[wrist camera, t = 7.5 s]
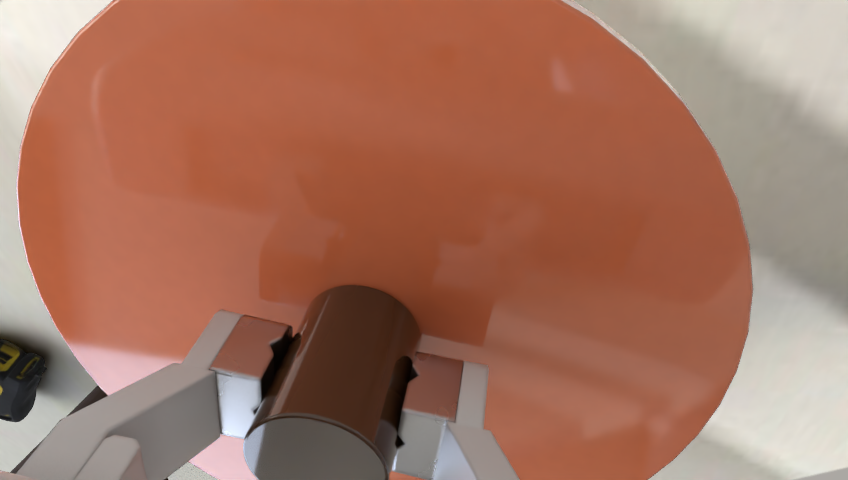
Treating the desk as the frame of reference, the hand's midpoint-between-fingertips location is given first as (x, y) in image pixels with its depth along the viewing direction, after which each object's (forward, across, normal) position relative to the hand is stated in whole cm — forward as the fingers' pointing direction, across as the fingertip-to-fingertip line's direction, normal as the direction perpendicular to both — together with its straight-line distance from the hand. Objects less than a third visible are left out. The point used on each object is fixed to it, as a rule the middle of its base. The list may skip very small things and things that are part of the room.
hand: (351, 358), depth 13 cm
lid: (+2, 0, 0) cm, 2 cm away
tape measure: (+22, +32, +32) cm, 50 cm away
